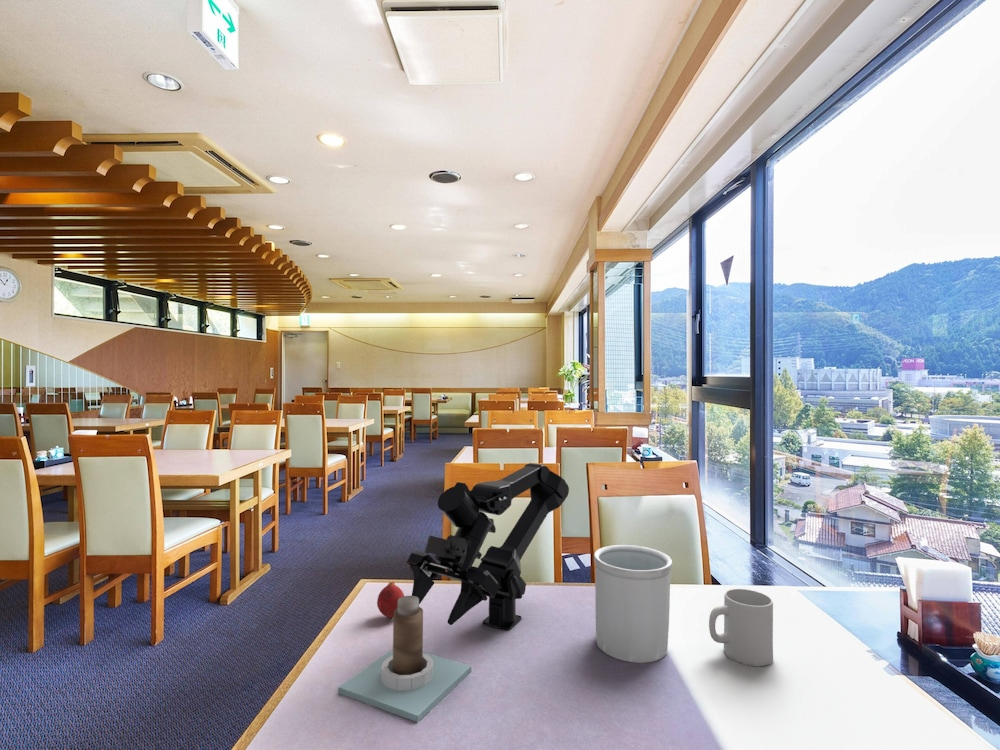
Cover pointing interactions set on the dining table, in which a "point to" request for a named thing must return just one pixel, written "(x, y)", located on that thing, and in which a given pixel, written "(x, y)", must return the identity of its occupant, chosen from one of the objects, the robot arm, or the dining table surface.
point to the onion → (389, 599)
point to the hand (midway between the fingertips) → (429, 617)
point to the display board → (405, 698)
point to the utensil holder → (632, 602)
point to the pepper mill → (407, 636)
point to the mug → (745, 627)
